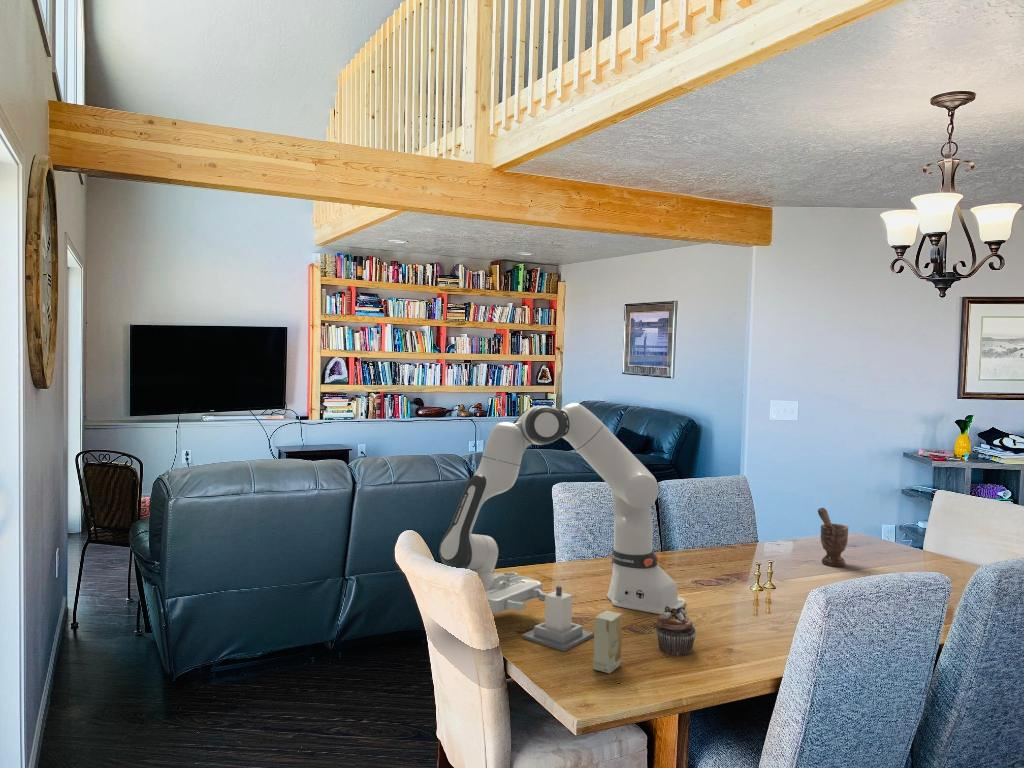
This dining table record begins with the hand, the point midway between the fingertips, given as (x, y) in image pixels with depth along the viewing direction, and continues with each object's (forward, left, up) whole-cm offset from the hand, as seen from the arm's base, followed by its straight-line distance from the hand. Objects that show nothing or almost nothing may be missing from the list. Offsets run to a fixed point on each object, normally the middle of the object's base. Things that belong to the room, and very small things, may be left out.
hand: (535, 602), depth 198 cm
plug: (-7, 0, -6) cm, 10 cm away
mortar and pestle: (-40, -112, -7) cm, 119 cm away
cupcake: (-33, -13, -7) cm, 37 cm away
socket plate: (-7, 0, -7) cm, 10 cm away
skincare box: (-26, +7, -7) cm, 28 cm away
